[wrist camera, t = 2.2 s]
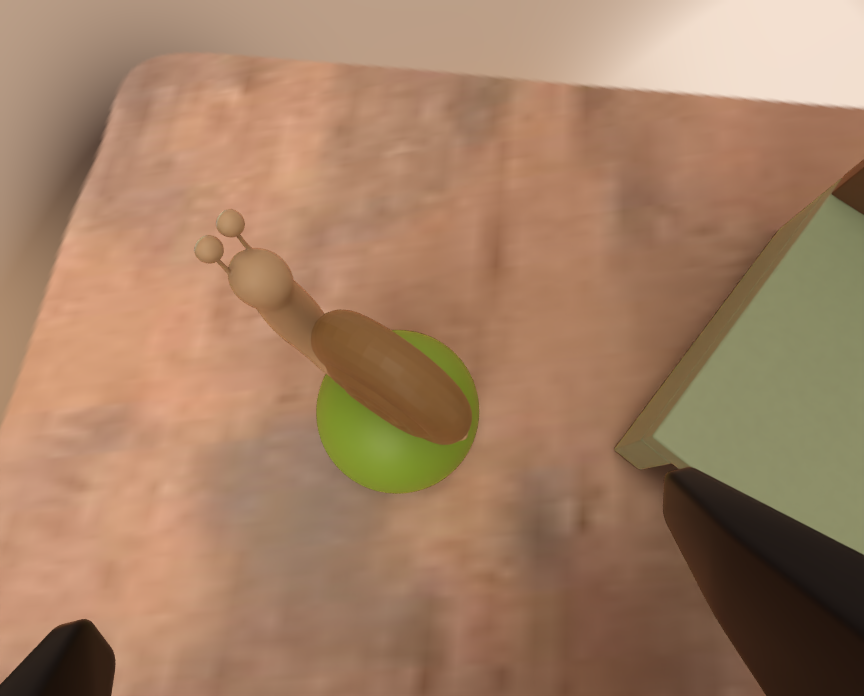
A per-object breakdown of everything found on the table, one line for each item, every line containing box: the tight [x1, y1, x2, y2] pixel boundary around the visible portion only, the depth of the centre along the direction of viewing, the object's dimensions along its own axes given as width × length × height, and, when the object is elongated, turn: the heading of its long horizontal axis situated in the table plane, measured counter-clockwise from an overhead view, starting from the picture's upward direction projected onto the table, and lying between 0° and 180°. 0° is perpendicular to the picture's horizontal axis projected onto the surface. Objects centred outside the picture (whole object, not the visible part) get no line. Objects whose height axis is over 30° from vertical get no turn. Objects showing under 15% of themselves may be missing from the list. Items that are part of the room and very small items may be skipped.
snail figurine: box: [194, 209, 479, 493], centre depth 16 cm, size 5×6×12 cm
